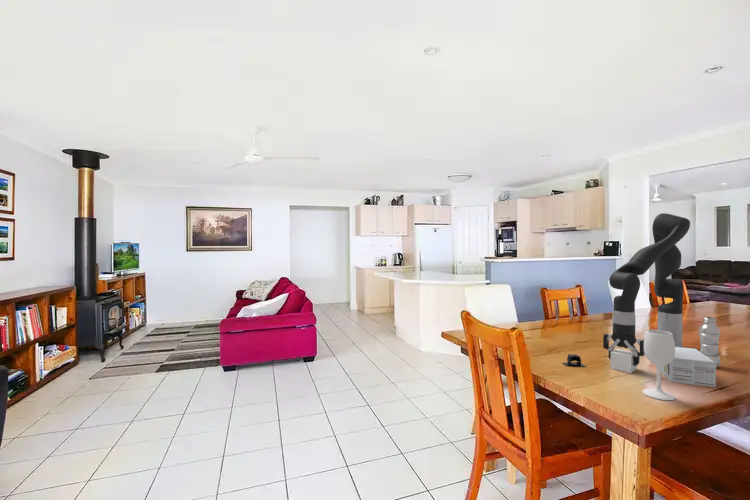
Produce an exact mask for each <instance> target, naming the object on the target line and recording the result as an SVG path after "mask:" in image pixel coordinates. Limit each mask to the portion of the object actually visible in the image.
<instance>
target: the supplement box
mask: <svg viewBox="0 0 750 500" xmlns="http://www.w3.org/2000/svg"><path fill="white" fill-rule="evenodd" d="M661 374H662V375H663V376H664V377H665V378H666V379H667V380H668V381H669V382H670V383H678V384H684V385H686V384H687V385H693V386H701V387H702V386H703V387H711V388H716V387H717V386H716V384H717V367H716V362H715V361H713V360H712V359H710V358H709V357H707V356H705V355H704V354H702V353H701V352H700V350H698V349H697V348H693V347H683V346H682V347H675V356H674V359H673V361H672V362H670V363H669V364H667V365H664V366H662V368H661Z"/></svg>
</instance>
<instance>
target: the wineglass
mask: <svg viewBox="0 0 750 500" xmlns="http://www.w3.org/2000/svg"><path fill="white" fill-rule="evenodd" d="M643 340H644V353H645V355H644V356H645V357H646V359H647V360H648V361H649V362H650V363H652V364H653V365H655V368H656V385H655V388H644V389H642V391H641V392H642V394H643V395H646V396H648V397H649V398H653V399H656V400H661V401H674V400H675V401H676V399H677V398H676V396H675V395H673V394H672V393H671V392H668V391H666V390H663V389H662V383H661V381H662V380H661V379H662V378H661V374H662V373H661V368H662V366H664V365H667V364H669V363H670V362H672V361H673V359H674V356H675V343H674V339H673V335H672V333H670V332H666V331H660V330H658V329H647V330H646V332H645V336H644V339H643Z"/></svg>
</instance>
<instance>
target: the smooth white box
mask: <svg viewBox="0 0 750 500" xmlns="http://www.w3.org/2000/svg"><path fill="white" fill-rule="evenodd" d="M609 361H610V363H609V364H610V367H609V368H610V369H612V370H617V371H620V372H625V373H629V374H632V373H633V372H635V371H636V370H637V369H638V365H637V366H634V354H633V353H632V351H630V350H624V349H620V348H614V349H613V351H612V352H611V360H610V359H609Z"/></svg>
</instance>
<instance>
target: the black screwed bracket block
mask: <svg viewBox="0 0 750 500" xmlns="http://www.w3.org/2000/svg"><path fill="white" fill-rule="evenodd" d="M566 360H567V362H561V364H562V365H564V366H565V367H566V368H567V367H568V368H569V367H570V368H587V366H586V365H585V364H584V363H582V358H581V356H580V355H578V354H572V353H571V354H569V353H568V354H567V358H566ZM574 361H575V362H574Z"/></svg>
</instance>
